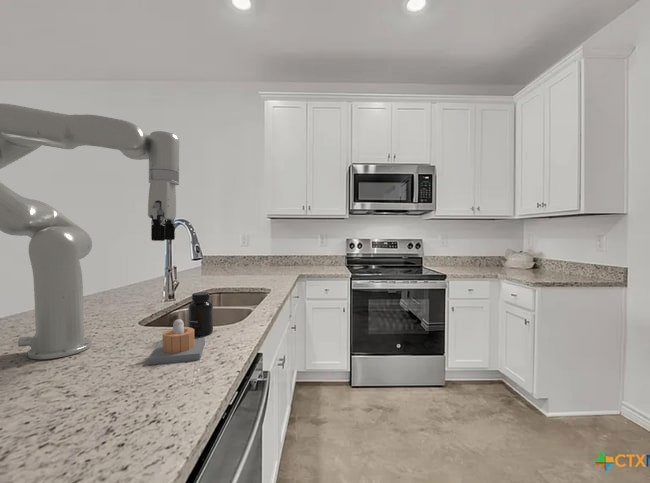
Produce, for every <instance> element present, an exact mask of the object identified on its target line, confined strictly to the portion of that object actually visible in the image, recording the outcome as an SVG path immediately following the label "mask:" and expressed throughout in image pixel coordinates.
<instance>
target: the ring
mask: <svg viewBox="0 0 650 483" xmlns="http://www.w3.org/2000/svg"><path fill="white" fill-rule="evenodd" d="M194 339H195V337H194V329H193V328H189V327H188V326H187V327H186V326H184V333H182V334H173V328H170V329H167V330H165V331H163V332H162V342H163V351H165V352H168V353H177V352H183V351H187V350H190V349H192V348H193V347H194V345H195V341H194Z"/></svg>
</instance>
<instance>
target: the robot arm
mask: <svg viewBox="0 0 650 483" xmlns="http://www.w3.org/2000/svg"><path fill="white" fill-rule="evenodd" d="M42 146H43V147H51V148H57V149H63V150H74V149H75V148H77V147H82V146H83V147H84V146H91V147H99V148H104V149H112V150H115V151H117V150H118V151H120V152H121V153H122V155H123V156H125V157H126V158H129V159H130V160H135V161H137V160H139V161H140V160H148V183H149V188H148V203H147V216H148V218H150V219H151V222H150V223H151V230H150V233H151V235H150V236H151V238H150V240H151V241H154V242H155V241H156V242H157V241H159V242H163V241H166V240H167V241H174V240H175V236H176V233H175V232H176V226H175V225H176V224H175V219H176V217H177V197H176V196H177V191H176V186H179V185H180V139H179V137H178V136H177V135H176V134H174V133H172V132H169V131H163V130H155V131H153V132H150V133H149V134H147V133H144V132H143V130H142V129H141V128H140V127H139V126H138V125H136V124H135V123H133V122H130V121H127V120H124V119H119V118H113V117H108V116H102V115H97V114H66V113H62V112H61V113H59V112H55V111H49V110H43V109H38V108H34V107H28V106H27V107H26V106H23V105H22V106H21V105H16V104H12V103H11V104H10V103H0V170H1V169H3V168H5V167H7V166H9V165H11V164H13V163H15V162H16V161H19V159H22V158H23V157H25V156H27V155H29V154H31V153H32V152H35V150H37V149H39V148H40V147H42ZM0 231H1V232H2V233H3V234H7V235H10V236H16V237H17V236H20V237H21V236H24V237H25V236H26V237H29V238H30V241H29V243H28V257H29V260H30V261H29V262H30V265H31V272H32V277H33V292H34V294H33V295H34V319H35V321H34V322H35V324H34V325H35V335H33V336H29V335H28V336H20V337H19V338H18V343H17V345H18V347H19V348H20V347H29V348H30V349H29V350H28V352H27V357H28V358H29V359H32V360H50V359H58V358H63V357H64V358H65V357H68V356H72V355H76V354H78V353H81V352H84V351H86V350H88V349H90V348H91V346H92V343H93V342H92V341H93V340H92V339H91V338H87V337H85V321H84V320H85V319H84V318H85V316H84V288H83V273H82V272H83V271H82V267H81V263H80V260H81V259H84V258H85V257H87V256H88V255H89V254H90V252H91V251H92V247H93V241H92V237H91V236H90V234H88V233H87V231H86V230H84V229H83V228H82V227H80V226H79V225H78V224H76V223H75V222H74V221H72V220H71V219H69V218H68V217H66V216H65V215H64V214H63V213H61V212H59V211H58V210H57V209H56V208H54V207H53V206H51V205H49V204H47V203H45V202H43V201H40V200H35V199H31V198H28V197H24V196H22V195H20V194H18V193H17V192H15V191H14V190H12V189H11V188H10V187H8V186H7V185H6V184H4V183H3V182H1V181H0Z"/></svg>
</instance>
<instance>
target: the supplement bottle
mask: <svg viewBox="0 0 650 483" xmlns="http://www.w3.org/2000/svg"><path fill="white" fill-rule="evenodd" d="M210 299H211V298H210V292H208V291H207V292H206V291H200V292H198V291H197V292H194V293H192V294H191V301H192V302H190V303H189V305H188V306H187V307H188V311H187V312H188V314H187V316H188V318H187V319H188V320H187V321H188V324H187V325H188V326H187V327H189V328H193V329H194V338H201V337H206V336H210V335H211V334H212V333H213V332H214V304H213V303H212V301H210Z"/></svg>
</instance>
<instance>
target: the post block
mask: <svg viewBox="0 0 650 483" xmlns="http://www.w3.org/2000/svg"><path fill="white" fill-rule="evenodd" d="M184 327H185V323H184V321H183V320H182V319H180V318H178V319H175V320H174V321H173V323H172V329H173V334H182V333H184ZM194 341H195V345H194V347H193V348H192V349H190V350H187V351H183V352H177V353H168V352H165V351H163V341H160V342H159V343H158V344H157V346H155V348H154V350H153V351H152V353H151V354H150V355H149V357H148V360H147V361H148V362H147V363H148V364H147V365H148V366H149V365H150V366H151V365H159V364H160V365H161V364H168V363H169V364H170V363H179V362H188V361H189V362H191V361H198V360H201V358H202V354H203V351H204V347H205V345H206V339H205V338H194Z"/></svg>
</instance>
